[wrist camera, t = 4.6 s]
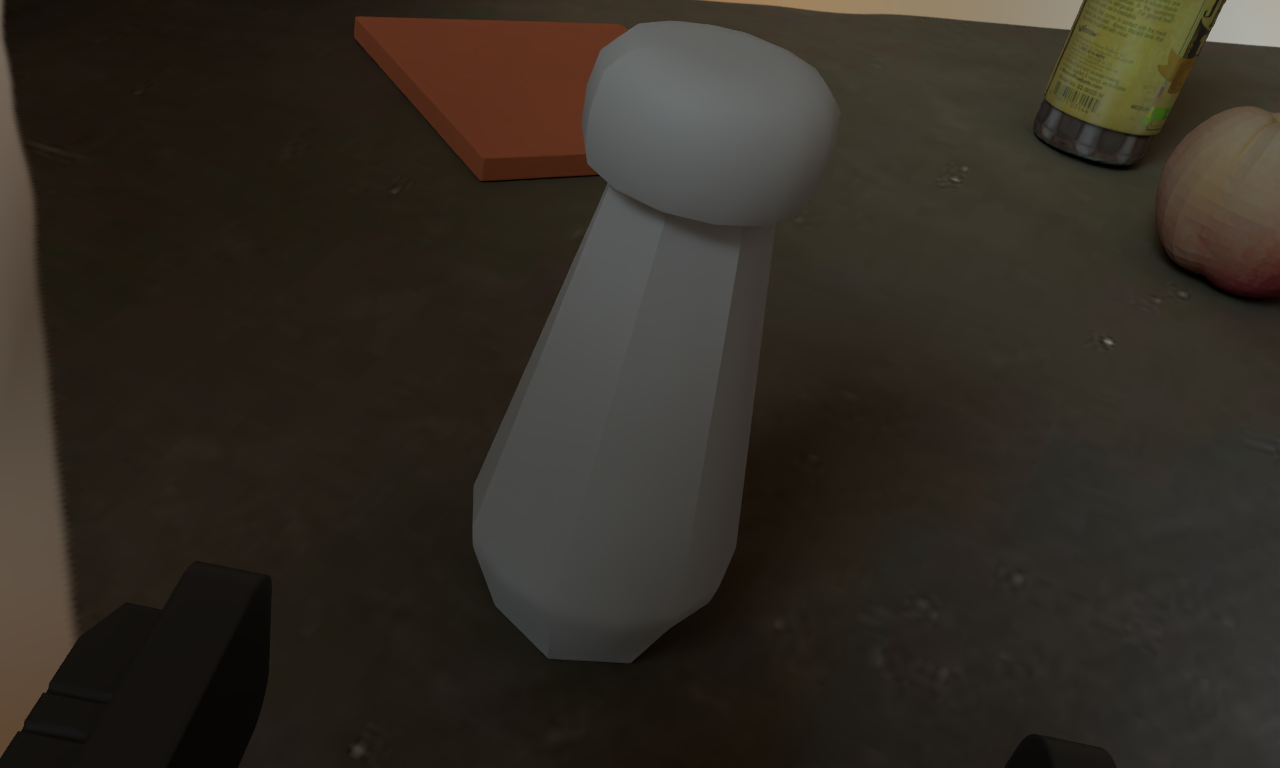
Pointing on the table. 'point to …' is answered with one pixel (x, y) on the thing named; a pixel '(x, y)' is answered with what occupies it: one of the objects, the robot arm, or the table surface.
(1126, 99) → the sauce bottle
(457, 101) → the mat
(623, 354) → the salt shaker
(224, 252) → the table surface
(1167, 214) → the fruit
